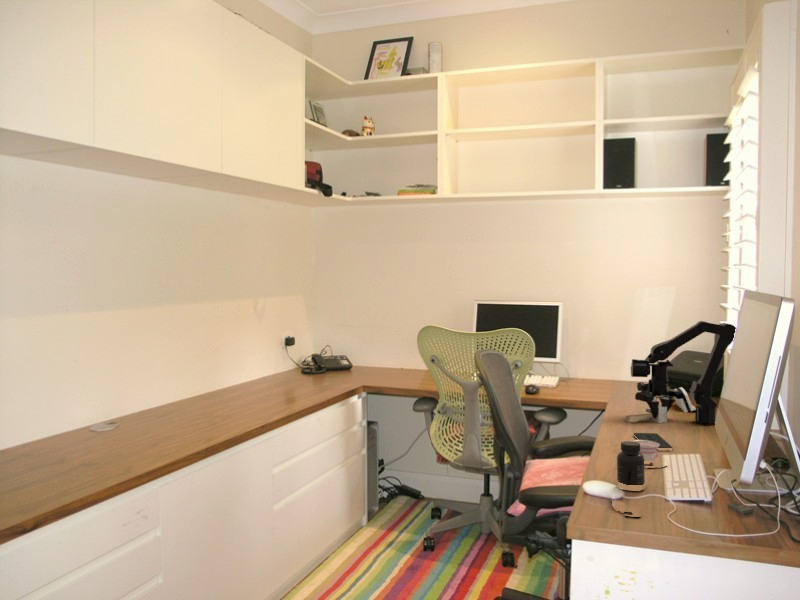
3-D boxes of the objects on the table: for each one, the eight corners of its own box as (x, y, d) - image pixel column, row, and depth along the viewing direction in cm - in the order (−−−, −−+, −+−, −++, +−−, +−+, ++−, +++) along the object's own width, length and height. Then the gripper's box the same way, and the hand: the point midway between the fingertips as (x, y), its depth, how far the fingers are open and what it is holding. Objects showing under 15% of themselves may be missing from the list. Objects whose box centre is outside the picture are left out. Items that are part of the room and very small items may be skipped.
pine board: (658, 419, 250) (658, 414, 250) (631, 422, 246) (631, 417, 245) (651, 418, 253) (652, 413, 253) (625, 420, 249) (625, 415, 249)
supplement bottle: (638, 484, 172) (638, 439, 171) (649, 492, 165) (649, 446, 164) (613, 484, 171) (613, 440, 171) (622, 493, 164) (622, 446, 164)
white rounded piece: (698, 413, 263) (689, 389, 263) (686, 416, 264) (677, 393, 264) (689, 405, 279) (681, 383, 280) (678, 408, 280) (670, 386, 281)
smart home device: (657, 432, 224) (673, 447, 204) (657, 437, 224) (673, 453, 204) (632, 432, 225) (646, 446, 205) (632, 437, 225) (646, 452, 205)
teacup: (615, 461, 194) (615, 440, 194) (645, 456, 199) (645, 436, 199) (645, 471, 183) (646, 450, 183) (676, 466, 188) (676, 445, 188)
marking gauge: (667, 422, 246) (667, 406, 246) (658, 423, 244) (658, 407, 244) (651, 417, 254) (651, 402, 254) (643, 418, 252) (643, 403, 252)
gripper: (662, 373, 257) (662, 411, 258) (625, 376, 251) (625, 415, 251) (684, 377, 247) (684, 417, 247) (645, 380, 240) (645, 421, 241)
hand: (659, 417), depth 247 cm, fingers closed on marking gauge, 4 cm apart
